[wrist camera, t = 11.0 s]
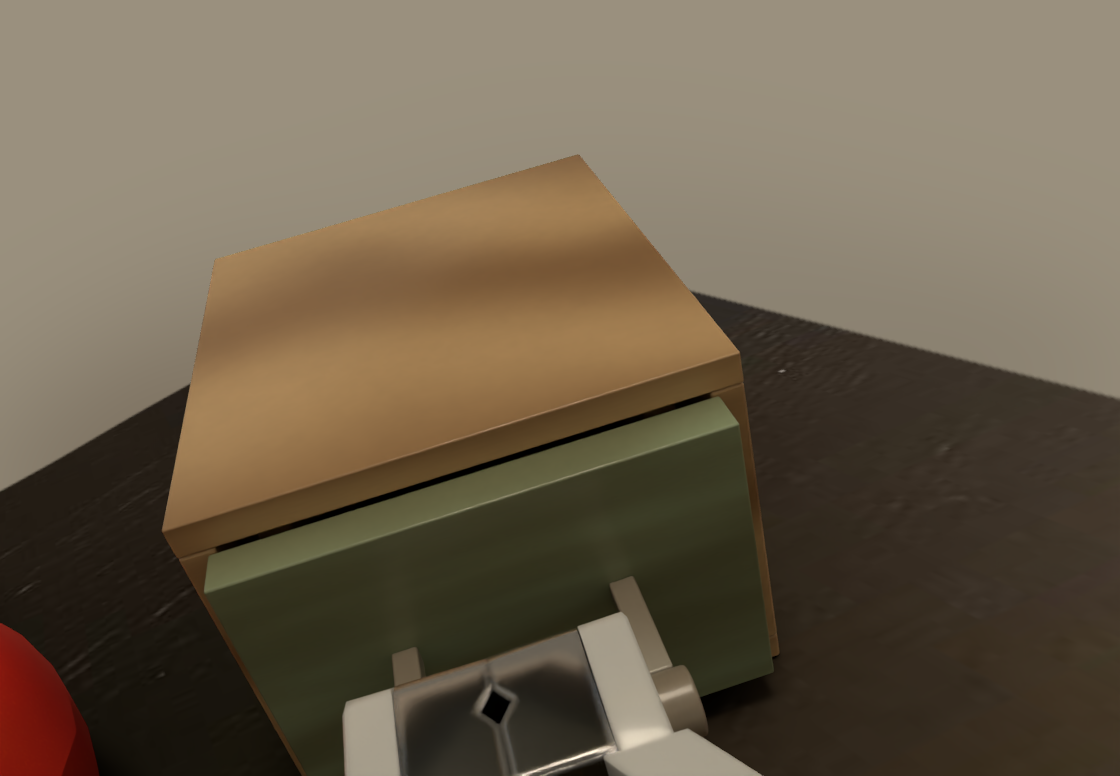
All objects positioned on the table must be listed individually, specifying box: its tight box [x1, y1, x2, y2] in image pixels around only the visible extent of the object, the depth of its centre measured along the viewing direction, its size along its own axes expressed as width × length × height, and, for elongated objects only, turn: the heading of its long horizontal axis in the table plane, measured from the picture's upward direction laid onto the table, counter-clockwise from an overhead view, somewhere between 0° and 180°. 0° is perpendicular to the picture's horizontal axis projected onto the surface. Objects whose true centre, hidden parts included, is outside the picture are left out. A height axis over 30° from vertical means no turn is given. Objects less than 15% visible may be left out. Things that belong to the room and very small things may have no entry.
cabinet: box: [162, 155, 779, 776], centre depth 29 cm, size 15×13×10 cm
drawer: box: [204, 396, 774, 776], centre depth 26 cm, size 18×11×8 cm, turn 13°
